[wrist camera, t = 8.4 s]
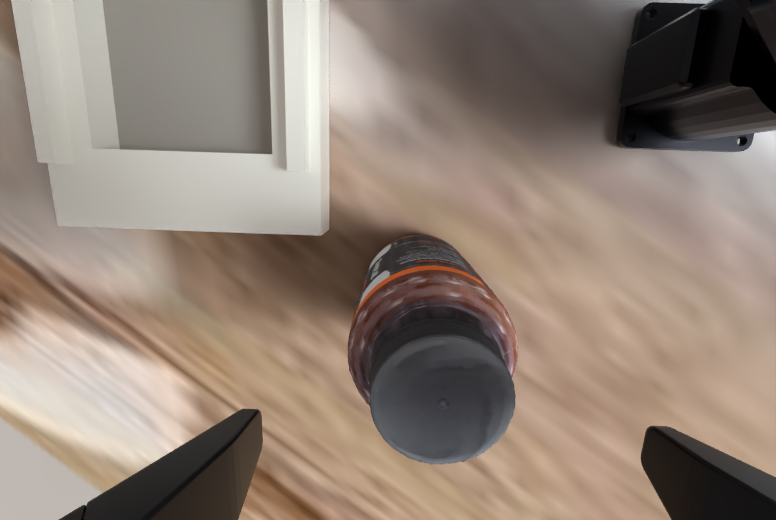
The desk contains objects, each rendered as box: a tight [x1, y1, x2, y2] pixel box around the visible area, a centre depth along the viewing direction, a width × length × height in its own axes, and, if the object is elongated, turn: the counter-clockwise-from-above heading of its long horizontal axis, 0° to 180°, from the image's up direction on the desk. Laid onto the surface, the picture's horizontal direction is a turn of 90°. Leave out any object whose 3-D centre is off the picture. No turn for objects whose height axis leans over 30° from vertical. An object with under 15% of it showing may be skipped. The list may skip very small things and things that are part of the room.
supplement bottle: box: [348, 235, 518, 464], centre depth 15 cm, size 6×6×11 cm
